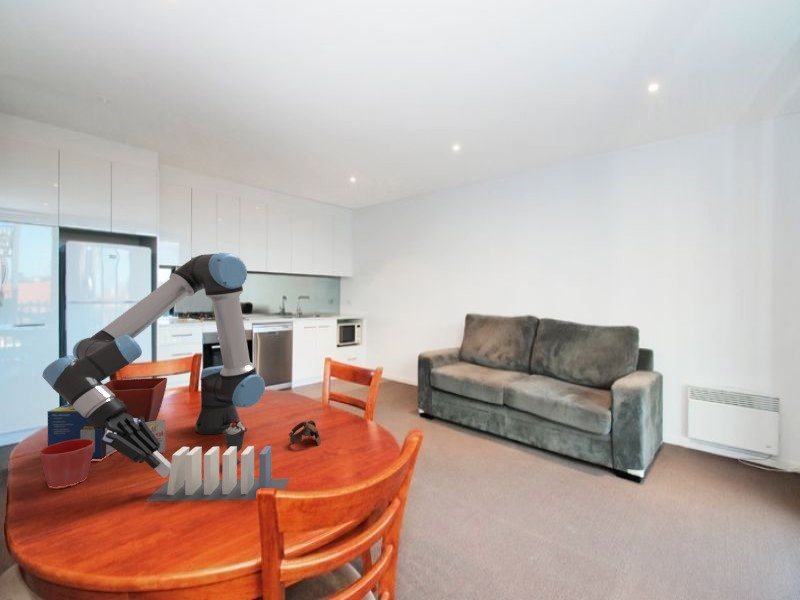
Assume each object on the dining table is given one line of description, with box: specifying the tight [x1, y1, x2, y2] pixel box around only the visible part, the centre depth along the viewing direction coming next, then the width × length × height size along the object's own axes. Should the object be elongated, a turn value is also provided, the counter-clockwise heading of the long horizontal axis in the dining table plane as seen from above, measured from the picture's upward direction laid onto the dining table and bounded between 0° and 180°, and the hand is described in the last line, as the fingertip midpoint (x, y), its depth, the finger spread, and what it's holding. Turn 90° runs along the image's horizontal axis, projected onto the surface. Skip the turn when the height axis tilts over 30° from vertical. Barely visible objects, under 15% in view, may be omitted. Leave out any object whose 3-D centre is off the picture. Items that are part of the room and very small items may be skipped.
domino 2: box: [185, 446, 203, 495], centre depth 95 cm, size 5×2×10 cm, turn 3°
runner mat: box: [144, 478, 290, 502], centre depth 95 cm, size 10×32×1 cm, turn 93°
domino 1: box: [167, 446, 190, 495], centre depth 95 cm, size 5×2×10 cm, turn 3°
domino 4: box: [221, 446, 238, 494], centre depth 95 cm, size 5×2×10 cm, turn 3°
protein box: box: [47, 401, 123, 459], centre depth 115 cm, size 10×15×16 cm
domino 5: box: [240, 445, 255, 494], centre depth 95 cm, size 5×2×10 cm, turn 3°
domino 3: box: [203, 446, 220, 495], centre depth 95 cm, size 5×2×10 cm, turn 3°
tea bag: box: [145, 419, 166, 454], centre depth 117 cm, size 4×7×10 cm, turn 121°
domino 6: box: [258, 445, 273, 489], centre depth 96 cm, size 5×2×10 cm, turn 3°
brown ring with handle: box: [288, 420, 322, 446], centre depth 127 cm, size 12×10×8 cm
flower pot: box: [39, 439, 95, 487], centre depth 99 cm, size 11×11×10 cm
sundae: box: [221, 416, 248, 466], centre depth 110 cm, size 7×7×15 cm
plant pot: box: [103, 377, 168, 422], centre depth 137 cm, size 19×19×17 cm
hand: (169, 473), depth 94 cm, fingers closed
